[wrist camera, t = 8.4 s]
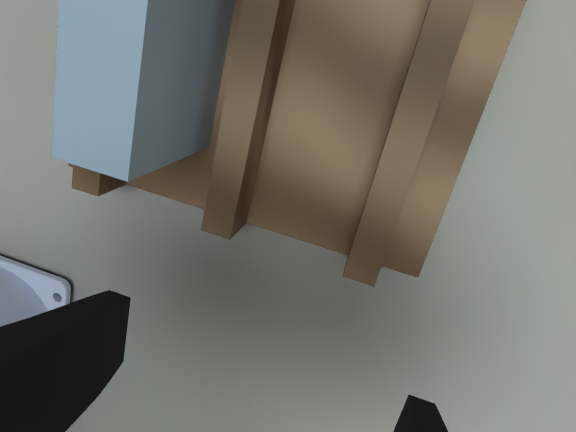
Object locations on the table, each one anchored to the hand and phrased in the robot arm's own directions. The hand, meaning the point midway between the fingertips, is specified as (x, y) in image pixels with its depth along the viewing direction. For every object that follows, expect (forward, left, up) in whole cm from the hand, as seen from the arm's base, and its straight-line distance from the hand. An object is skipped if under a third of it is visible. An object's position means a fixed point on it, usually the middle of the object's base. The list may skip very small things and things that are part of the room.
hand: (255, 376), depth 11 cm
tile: (+7, +7, -8) cm, 13 cm away
